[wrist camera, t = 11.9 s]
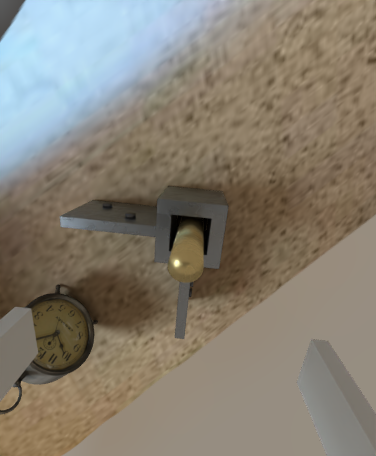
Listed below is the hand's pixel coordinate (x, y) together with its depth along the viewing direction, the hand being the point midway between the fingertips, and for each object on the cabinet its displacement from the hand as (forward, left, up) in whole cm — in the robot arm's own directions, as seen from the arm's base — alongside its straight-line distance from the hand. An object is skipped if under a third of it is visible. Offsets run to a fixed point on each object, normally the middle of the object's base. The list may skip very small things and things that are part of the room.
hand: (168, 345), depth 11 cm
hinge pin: (0, 0, -23) cm, 23 cm away
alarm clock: (-18, -18, -23) cm, 34 cm away
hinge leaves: (-5, -5, -23) cm, 24 cm away
